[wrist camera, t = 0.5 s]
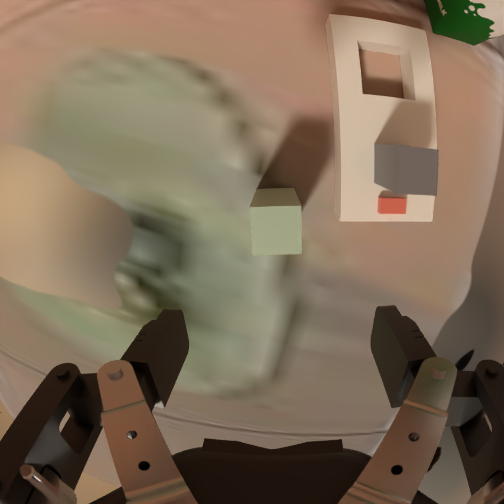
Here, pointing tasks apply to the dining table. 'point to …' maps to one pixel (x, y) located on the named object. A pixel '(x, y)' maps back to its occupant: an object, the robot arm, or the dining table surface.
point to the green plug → (276, 222)
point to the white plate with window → (382, 125)
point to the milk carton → (467, 19)
